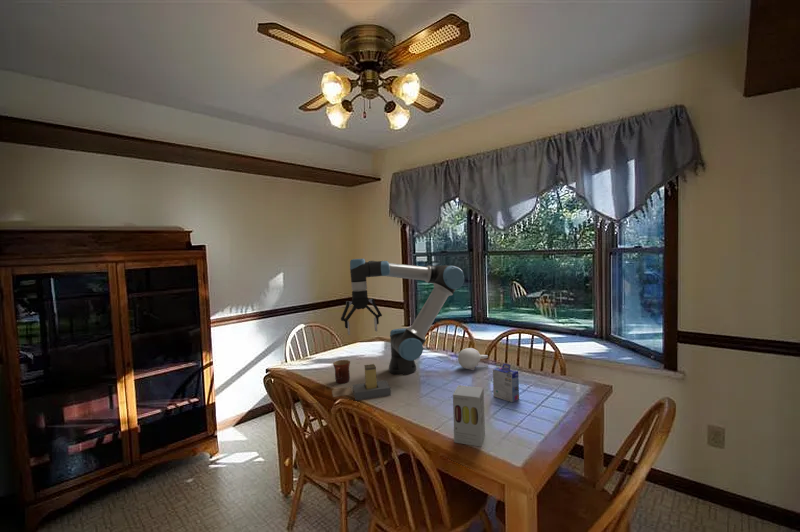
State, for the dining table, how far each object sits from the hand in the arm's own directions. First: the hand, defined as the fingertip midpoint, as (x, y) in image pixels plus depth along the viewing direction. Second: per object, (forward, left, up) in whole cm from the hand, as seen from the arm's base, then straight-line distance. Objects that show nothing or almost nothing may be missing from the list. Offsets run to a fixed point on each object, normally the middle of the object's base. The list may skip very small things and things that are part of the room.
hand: (362, 332), depth 179 cm
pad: (+12, +6, -26) cm, 30 cm away
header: (-1, +13, -26) cm, 29 cm away
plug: (-1, +13, -26) cm, 29 cm away
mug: (+11, -7, -27) cm, 30 cm away
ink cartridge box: (-56, +38, -27) cm, 73 cm away
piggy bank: (-60, -3, -27) cm, 66 cm away
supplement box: (-27, +63, -27) cm, 73 cm away
